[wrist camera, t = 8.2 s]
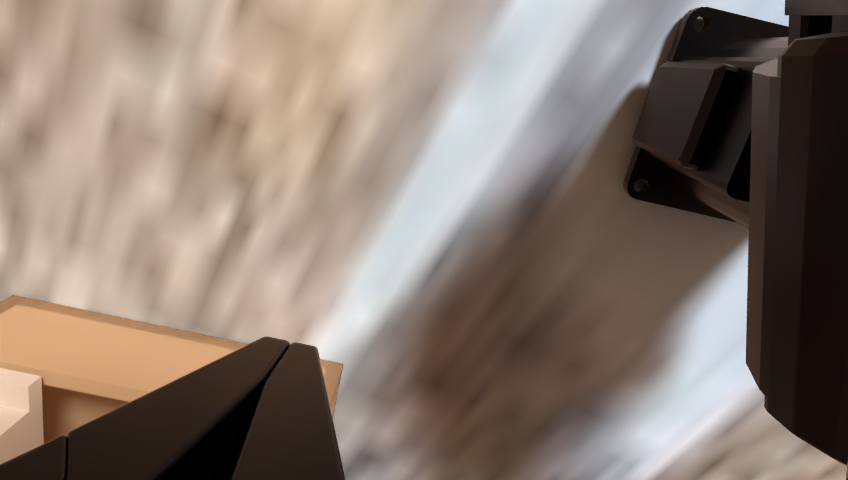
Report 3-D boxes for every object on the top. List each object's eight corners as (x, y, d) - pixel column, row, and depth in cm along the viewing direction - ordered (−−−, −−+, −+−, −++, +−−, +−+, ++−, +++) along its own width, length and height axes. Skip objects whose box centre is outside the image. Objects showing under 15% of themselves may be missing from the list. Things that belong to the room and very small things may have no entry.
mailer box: (343, 364, 22) (323, 427, 19) (309, 535, 26) (286, 617, 22) (12, 295, 22) (-78, 345, 18) (22, 479, 25) (-53, 554, 21)
